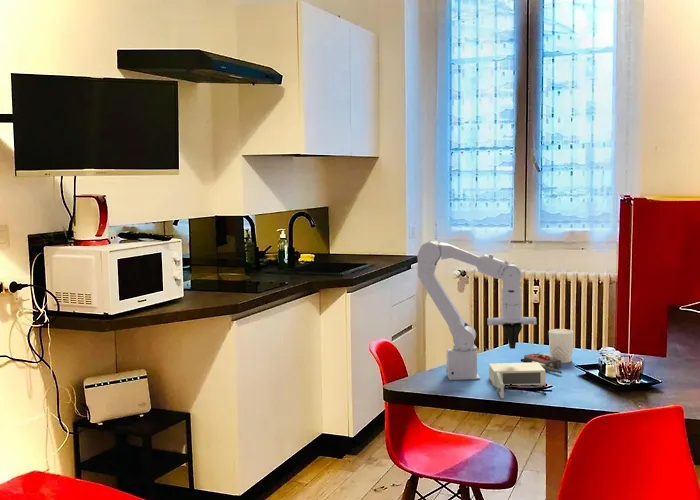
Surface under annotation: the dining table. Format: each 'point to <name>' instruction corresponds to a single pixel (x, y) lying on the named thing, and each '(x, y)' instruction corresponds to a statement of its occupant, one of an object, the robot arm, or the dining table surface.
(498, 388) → the side door
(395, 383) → the dining table surface
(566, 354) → the white cup
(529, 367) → the device housing
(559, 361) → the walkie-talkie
